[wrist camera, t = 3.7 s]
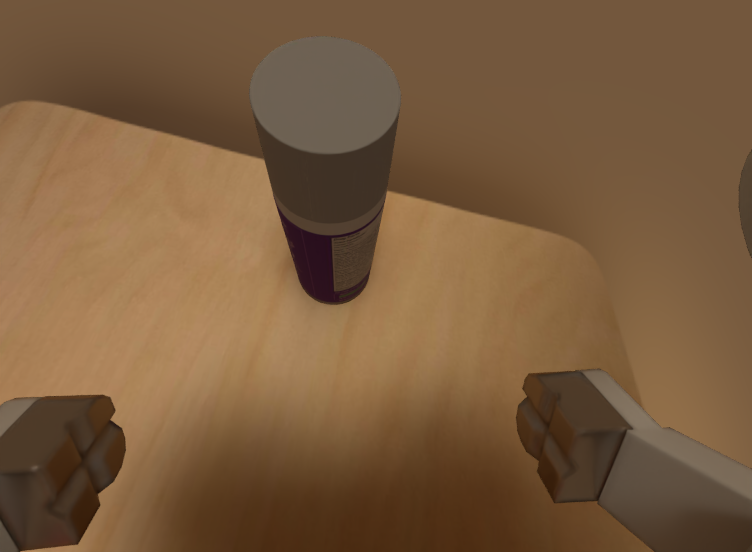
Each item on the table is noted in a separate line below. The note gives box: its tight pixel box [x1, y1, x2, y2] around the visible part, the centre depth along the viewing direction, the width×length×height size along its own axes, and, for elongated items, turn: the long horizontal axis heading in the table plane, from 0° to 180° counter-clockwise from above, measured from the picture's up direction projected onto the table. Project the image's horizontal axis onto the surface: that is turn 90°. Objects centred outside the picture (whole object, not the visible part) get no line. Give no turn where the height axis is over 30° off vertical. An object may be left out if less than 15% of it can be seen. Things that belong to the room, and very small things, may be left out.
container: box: [249, 36, 401, 304], centre depth 18 cm, size 5×5×15 cm
